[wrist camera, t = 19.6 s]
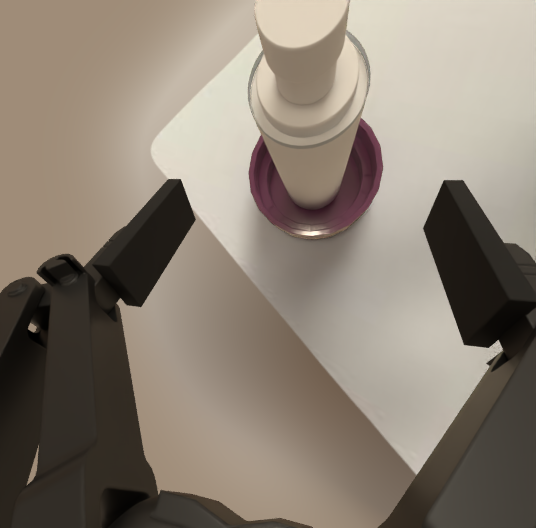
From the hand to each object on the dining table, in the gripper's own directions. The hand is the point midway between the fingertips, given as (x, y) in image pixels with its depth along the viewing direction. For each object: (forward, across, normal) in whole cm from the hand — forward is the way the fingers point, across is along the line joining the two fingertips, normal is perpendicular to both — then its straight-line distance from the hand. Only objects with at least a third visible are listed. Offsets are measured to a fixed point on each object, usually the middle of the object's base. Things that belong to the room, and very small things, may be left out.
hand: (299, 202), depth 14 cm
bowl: (+19, 0, -10) cm, 21 cm away
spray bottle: (+18, 0, -9) cm, 21 cm away
